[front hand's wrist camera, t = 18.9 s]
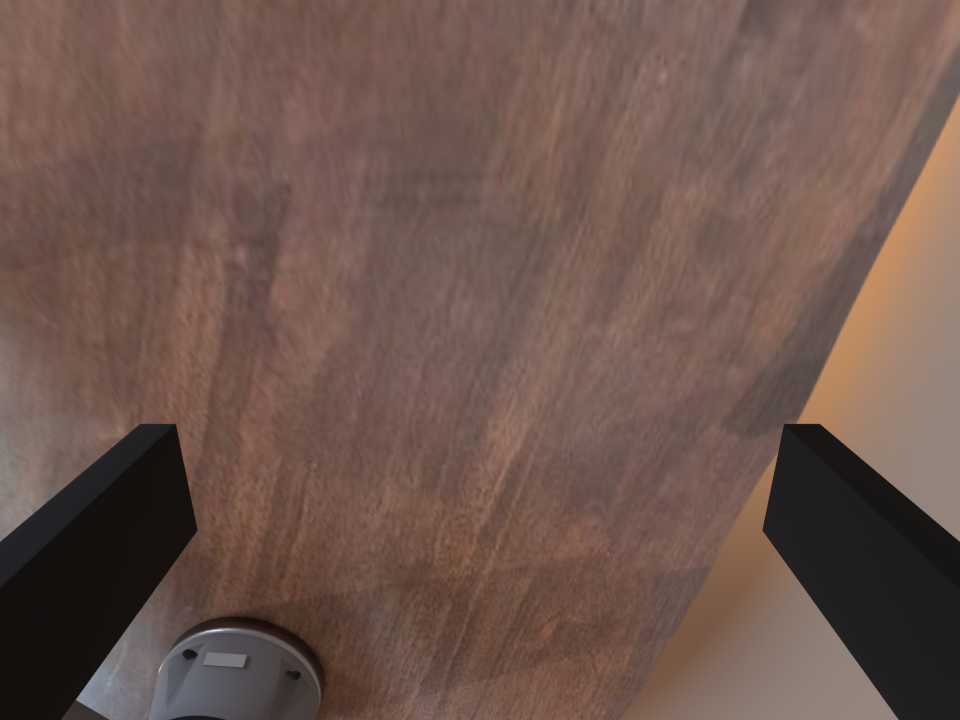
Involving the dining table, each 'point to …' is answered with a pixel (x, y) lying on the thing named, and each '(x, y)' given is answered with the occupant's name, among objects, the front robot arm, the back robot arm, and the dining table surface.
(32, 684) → the front robot arm
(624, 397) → the dining table surface
